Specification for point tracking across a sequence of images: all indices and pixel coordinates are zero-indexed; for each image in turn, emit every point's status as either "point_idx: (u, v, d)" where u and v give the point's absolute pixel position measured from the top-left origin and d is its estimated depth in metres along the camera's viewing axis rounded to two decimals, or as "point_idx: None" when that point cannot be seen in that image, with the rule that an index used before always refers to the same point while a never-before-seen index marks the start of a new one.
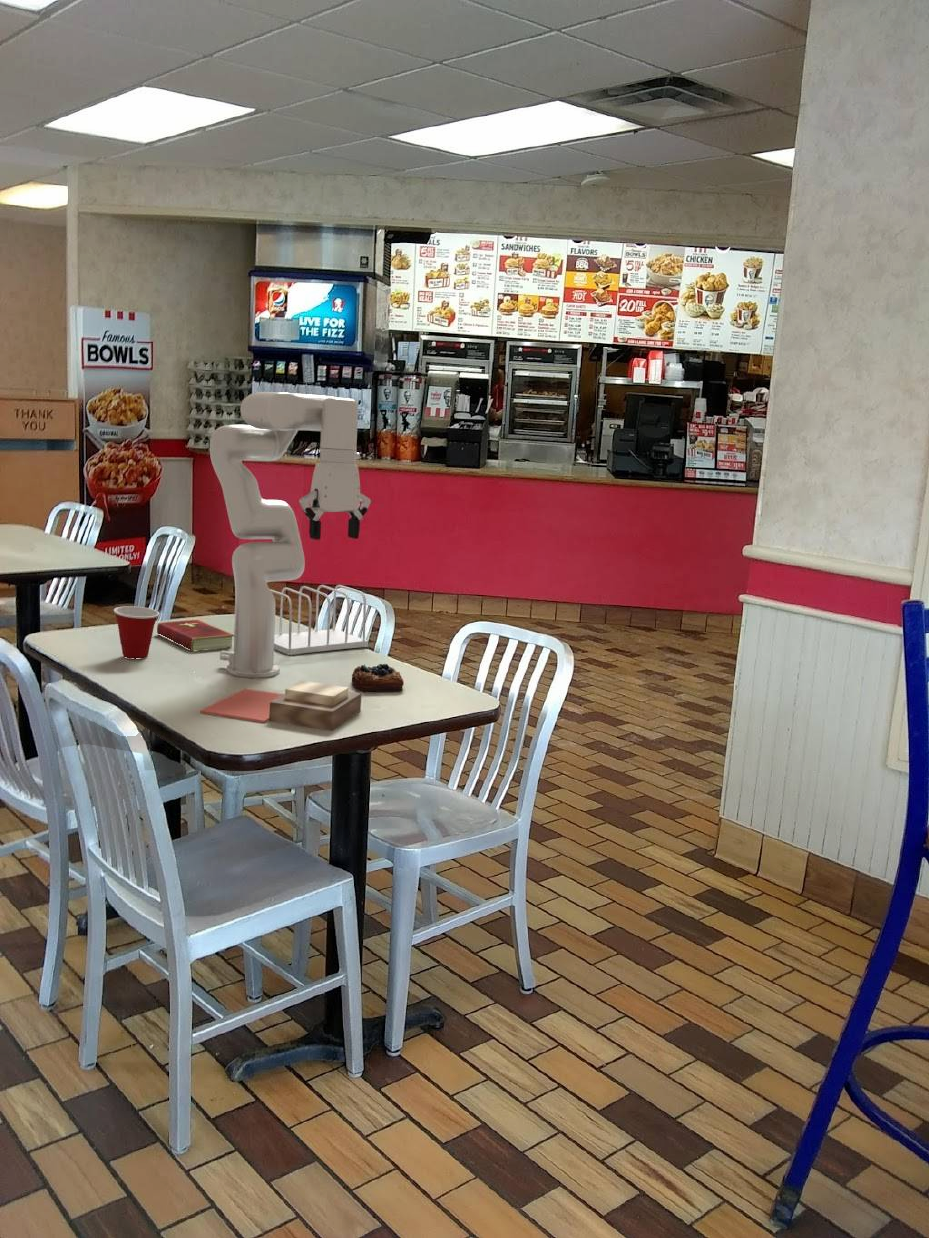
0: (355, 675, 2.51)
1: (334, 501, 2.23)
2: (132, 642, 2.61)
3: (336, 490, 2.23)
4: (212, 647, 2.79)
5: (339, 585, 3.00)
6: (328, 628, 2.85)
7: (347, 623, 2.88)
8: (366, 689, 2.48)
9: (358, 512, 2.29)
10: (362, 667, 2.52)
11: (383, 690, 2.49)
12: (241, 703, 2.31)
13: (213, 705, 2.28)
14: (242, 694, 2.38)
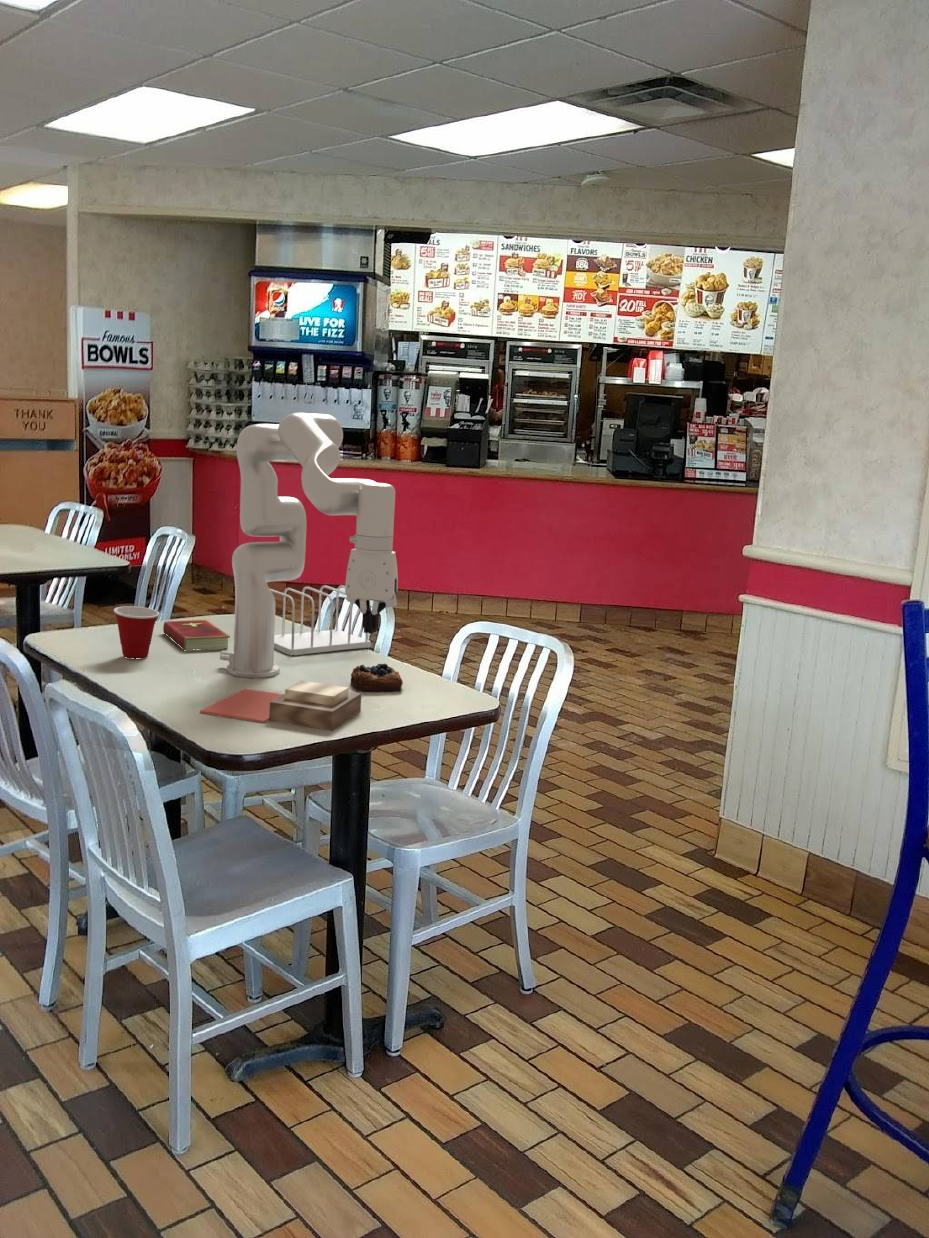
0: (354, 675, 2.52)
1: None
2: (132, 642, 2.61)
3: None
4: (206, 647, 2.78)
5: (342, 585, 3.00)
6: (331, 629, 2.85)
7: (350, 624, 2.88)
8: (365, 688, 2.48)
9: None
10: (361, 667, 2.52)
11: (382, 690, 2.50)
12: (241, 703, 2.31)
13: (213, 705, 2.28)
14: (242, 694, 2.38)
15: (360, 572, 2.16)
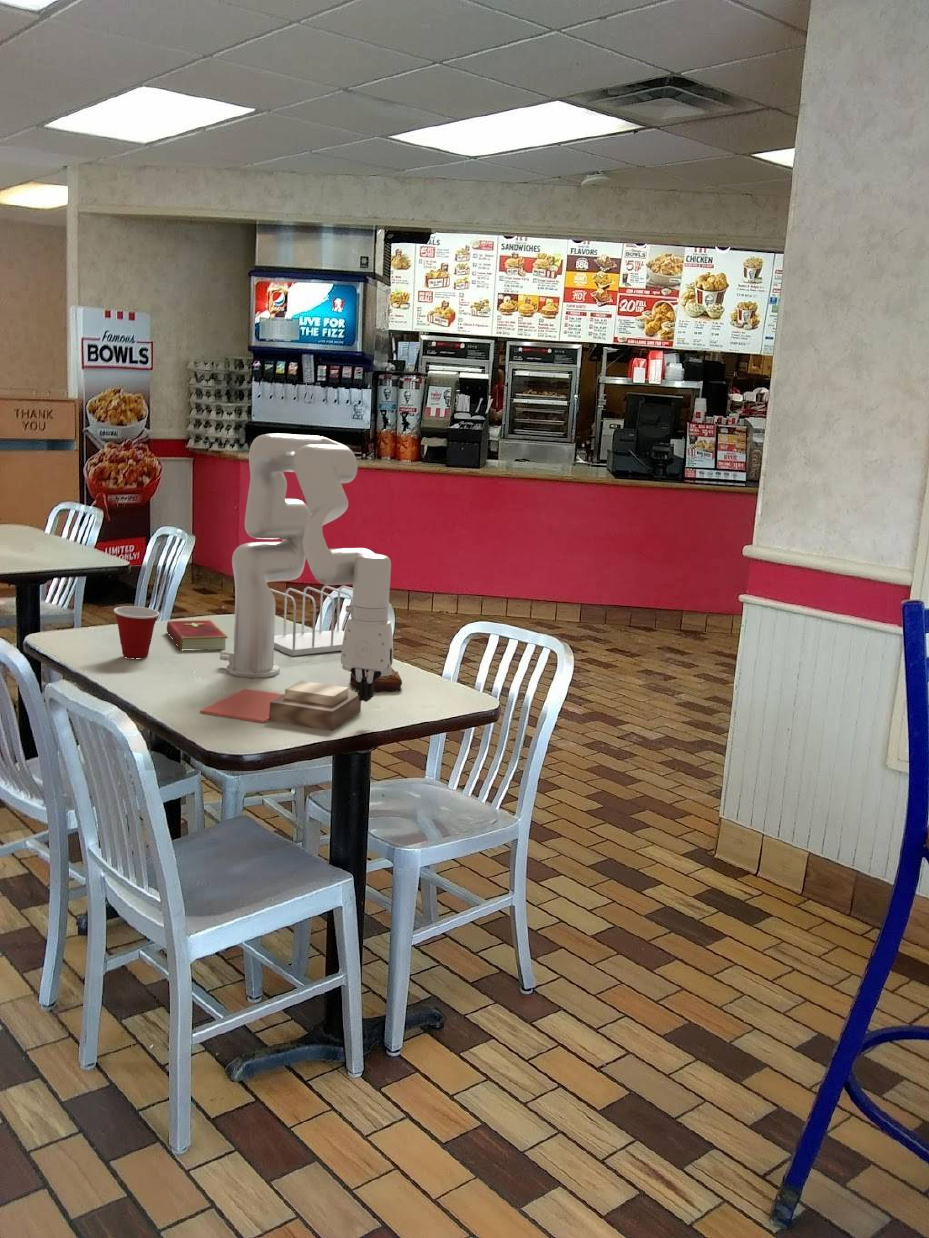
0: (353, 675, 2.52)
1: None
2: (132, 642, 2.61)
3: None
4: (203, 648, 2.78)
5: (343, 586, 3.00)
6: (332, 629, 2.84)
7: None
8: None
9: None
10: None
11: (381, 690, 2.50)
12: (241, 703, 2.31)
13: (213, 705, 2.28)
14: (242, 694, 2.38)
15: (356, 642, 2.19)
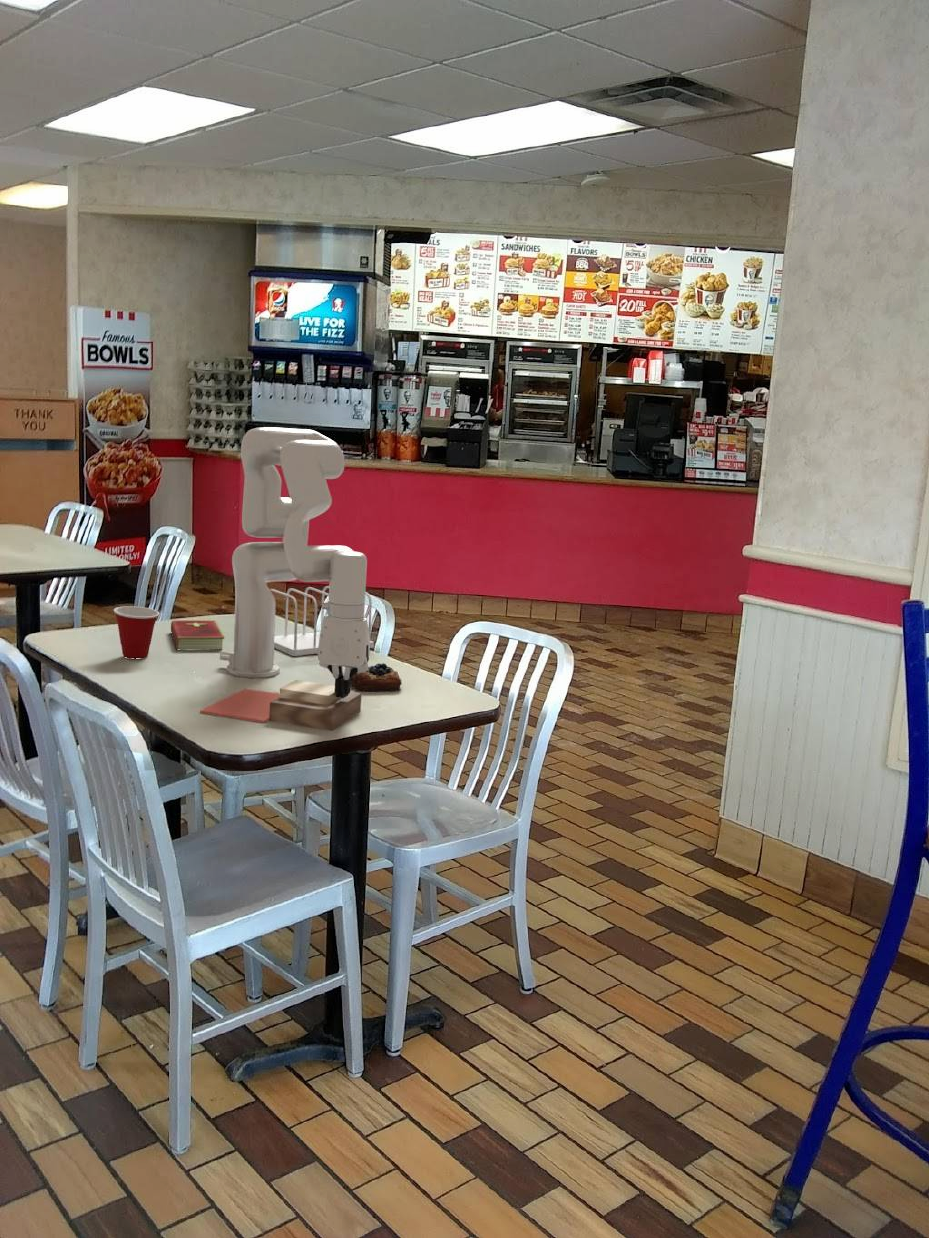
0: None
1: None
2: (132, 642, 2.61)
3: None
4: (200, 648, 2.77)
5: None
6: None
7: None
8: (364, 688, 2.49)
9: None
10: None
11: (381, 690, 2.50)
12: (241, 703, 2.31)
13: (213, 705, 2.28)
14: (242, 694, 2.38)
15: (332, 639, 2.20)
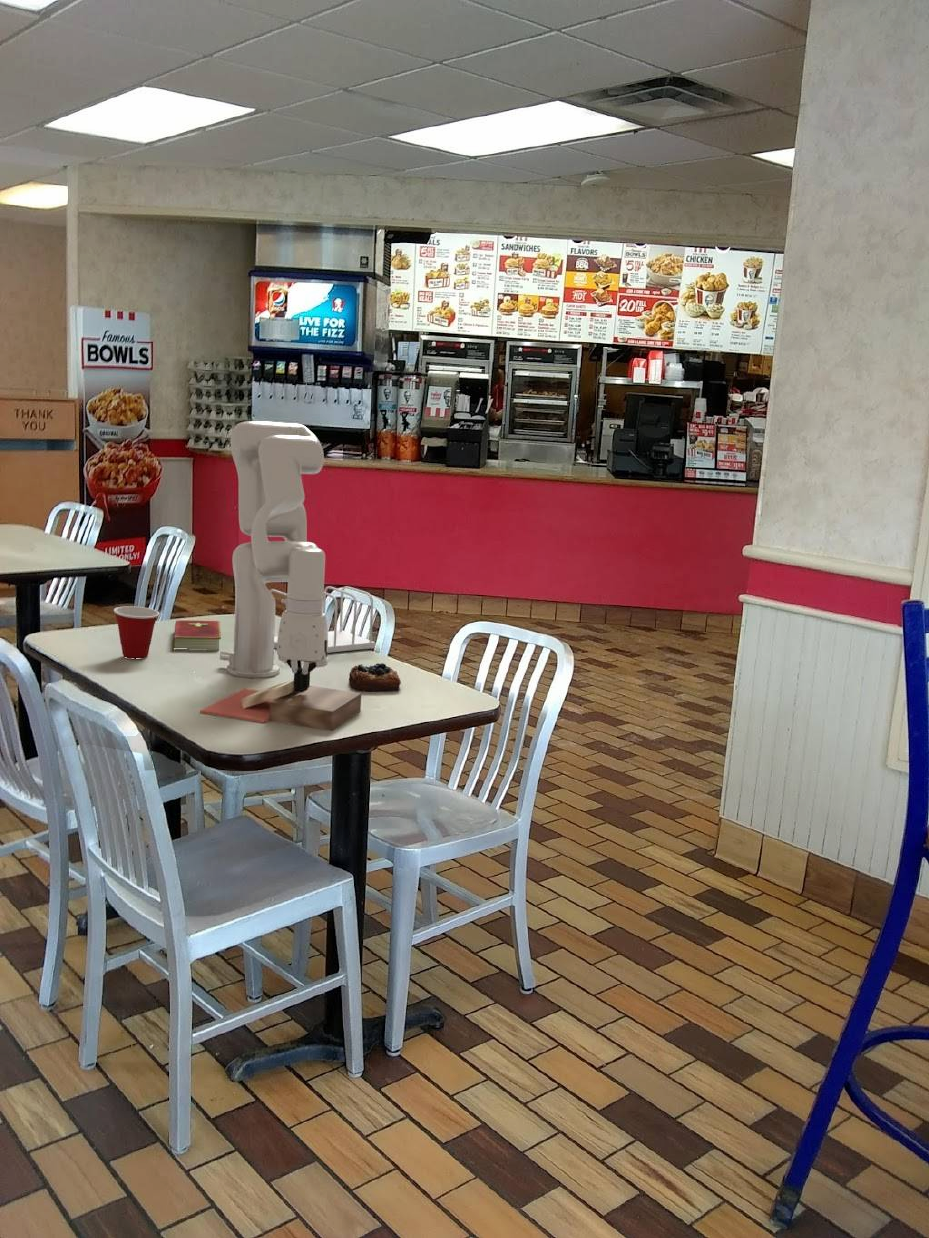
0: (352, 674, 2.52)
1: None
2: (132, 642, 2.61)
3: None
4: (197, 648, 2.77)
5: (346, 586, 2.99)
6: (335, 629, 2.84)
7: (354, 624, 2.87)
8: (363, 688, 2.49)
9: None
10: (359, 666, 2.52)
11: (380, 689, 2.50)
12: (241, 703, 2.31)
13: (213, 705, 2.28)
14: (242, 694, 2.38)
15: (291, 634, 2.23)
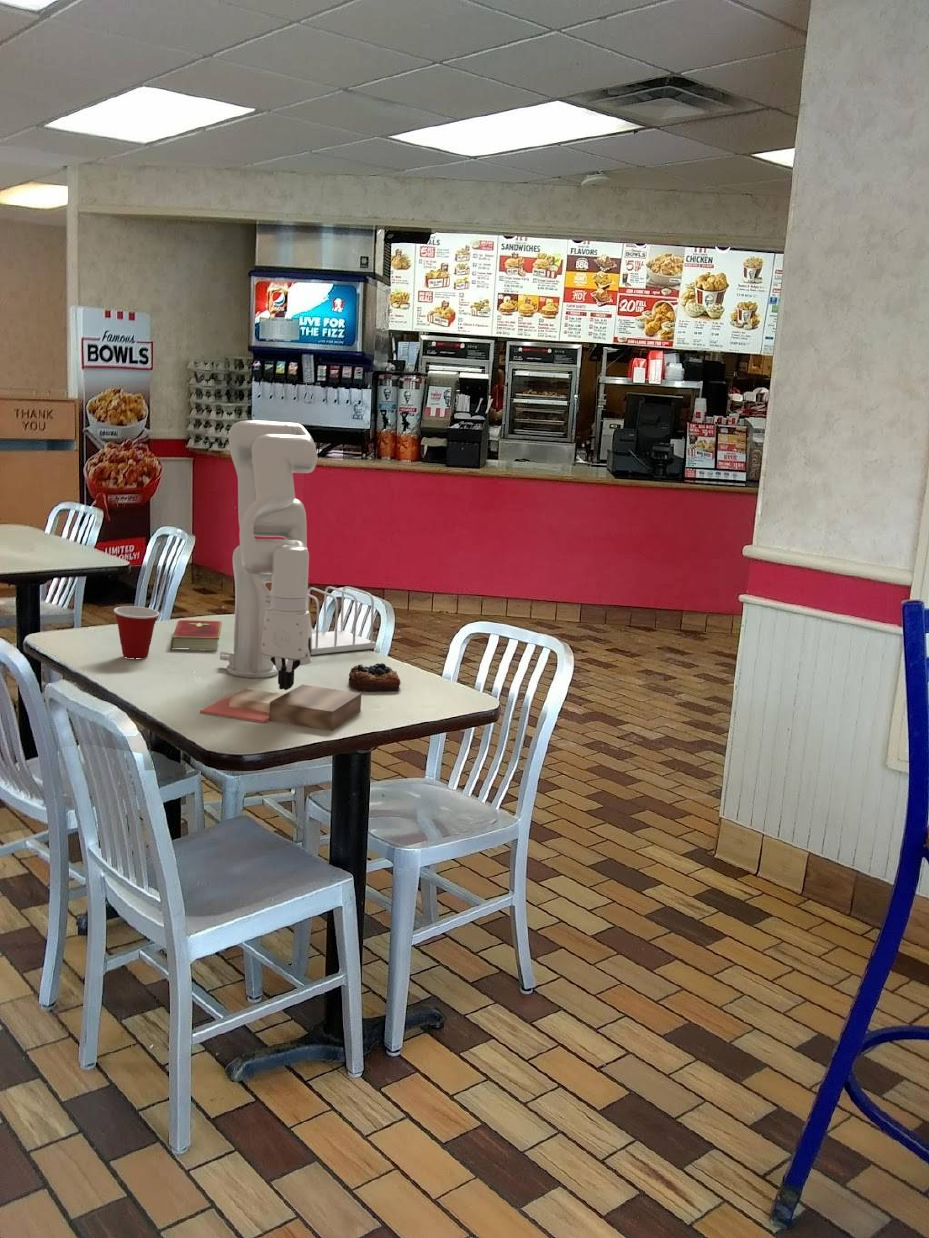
0: (352, 674, 2.52)
1: None
2: (132, 642, 2.61)
3: None
4: (195, 648, 2.77)
5: (347, 586, 2.99)
6: (336, 630, 2.84)
7: (355, 625, 2.87)
8: (363, 688, 2.49)
9: None
10: (359, 666, 2.52)
11: (380, 689, 2.50)
12: None
13: (213, 705, 2.28)
14: None
15: (275, 632, 2.24)
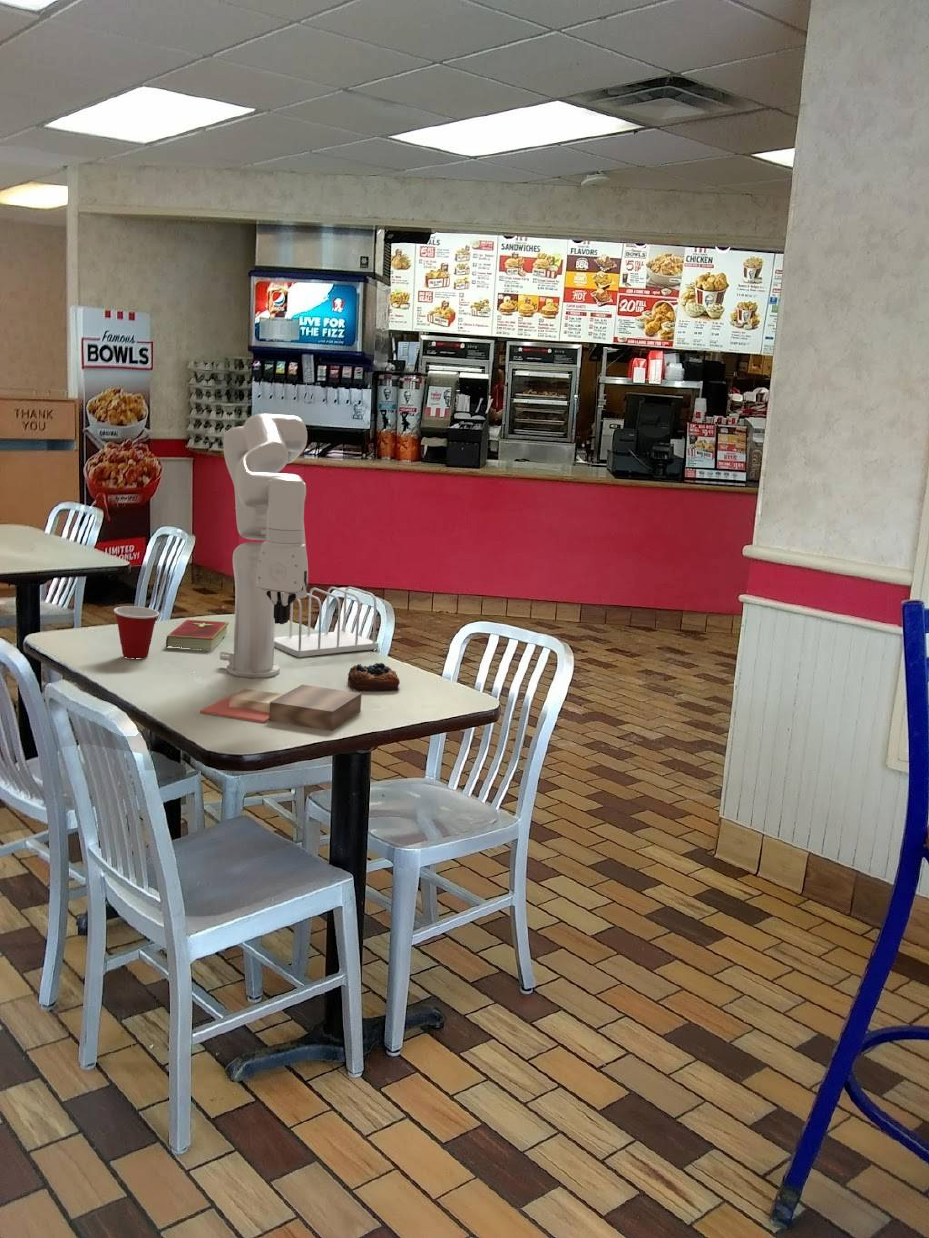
0: (351, 674, 2.52)
1: None
2: (132, 642, 2.61)
3: None
4: (189, 647, 2.77)
5: (349, 587, 2.99)
6: (338, 630, 2.83)
7: (357, 625, 2.87)
8: (362, 688, 2.49)
9: None
10: (358, 666, 2.52)
11: (379, 689, 2.50)
12: None
13: (213, 705, 2.28)
14: None
15: (270, 565, 2.22)
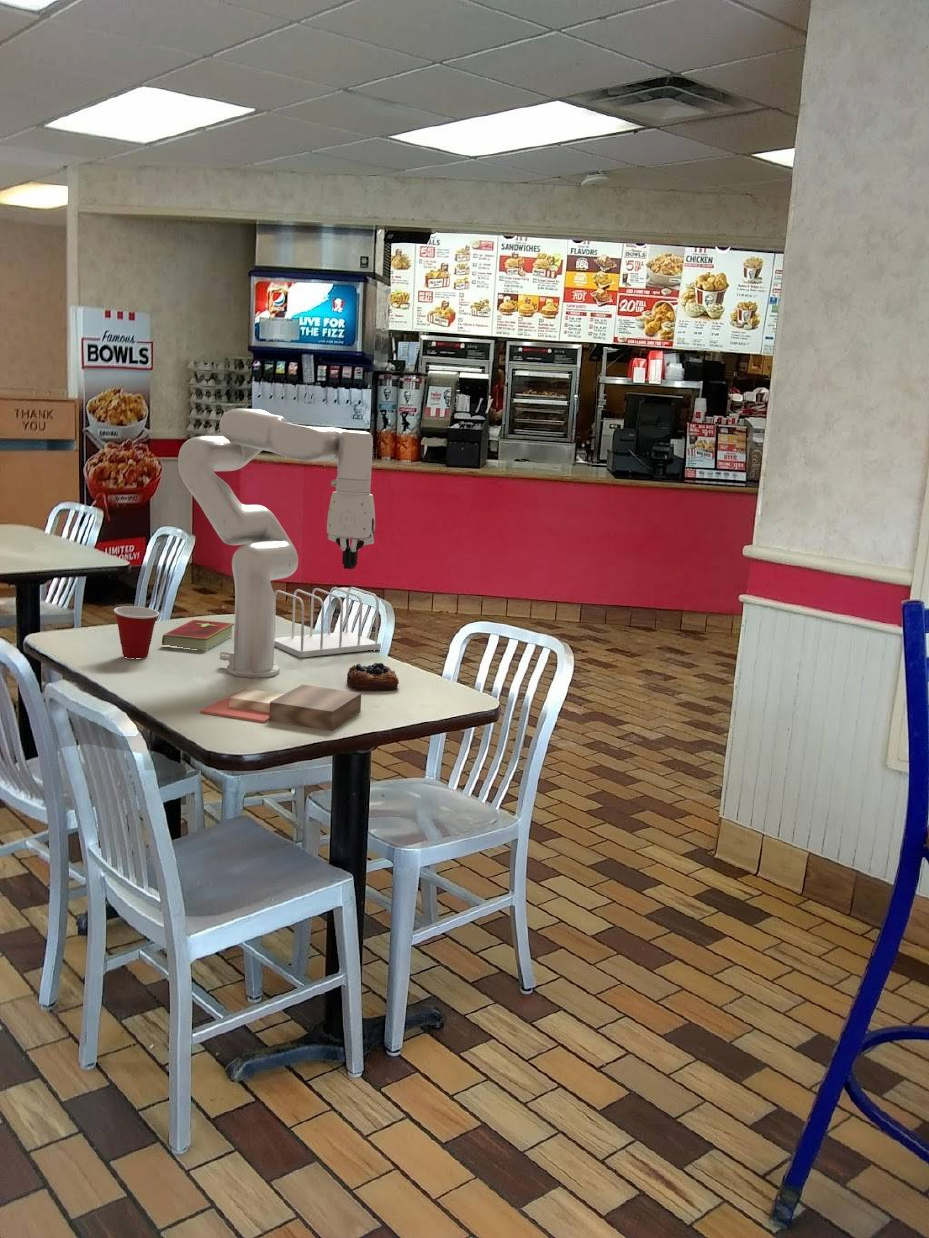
0: (350, 674, 2.52)
1: None
2: (132, 642, 2.61)
3: None
4: (184, 647, 2.77)
5: (352, 587, 2.98)
6: (340, 630, 2.83)
7: (360, 625, 2.86)
8: (361, 687, 2.49)
9: None
10: (357, 666, 2.52)
11: (378, 689, 2.50)
12: None
13: (213, 705, 2.28)
14: None
15: (340, 513, 2.37)
